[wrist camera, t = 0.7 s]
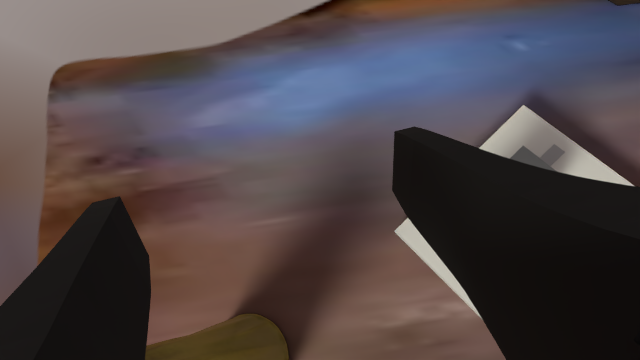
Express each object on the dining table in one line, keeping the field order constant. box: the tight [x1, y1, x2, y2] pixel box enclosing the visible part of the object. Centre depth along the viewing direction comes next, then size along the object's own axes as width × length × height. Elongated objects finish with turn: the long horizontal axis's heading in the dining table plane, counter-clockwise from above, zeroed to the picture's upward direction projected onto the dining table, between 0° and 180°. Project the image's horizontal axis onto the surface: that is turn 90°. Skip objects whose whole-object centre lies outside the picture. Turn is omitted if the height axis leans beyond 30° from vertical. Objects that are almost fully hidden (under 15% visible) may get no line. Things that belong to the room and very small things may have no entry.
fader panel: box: [395, 105, 634, 320], centre depth 23 cm, size 20×12×2 cm, turn 43°
